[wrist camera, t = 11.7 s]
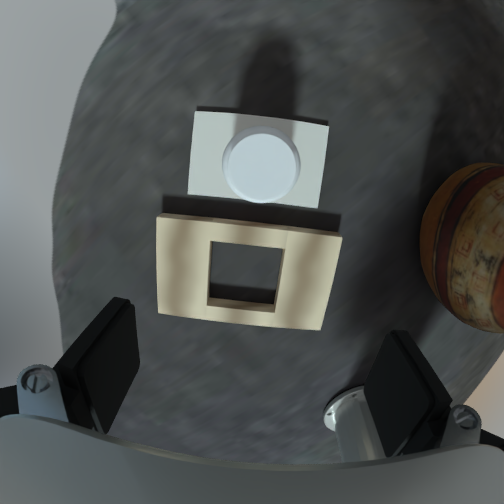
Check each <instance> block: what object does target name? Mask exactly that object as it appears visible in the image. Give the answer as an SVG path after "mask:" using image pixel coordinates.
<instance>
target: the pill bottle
mask: <svg viewBox="0 0 504 504" xmlns="http://www.w3.org/2000/svg"><path fill="white" fill-rule="evenodd" d="M300 169H301V161H300V156H299V152H298V150H297V147H296V146H295V144H294V142H293V141H292V140H291V139H290V138H289V137H288V136H287V135H286V134H285V133H283V132H282V131H280V130H278V129H276V128H273V127H269V126H254V127H250V128H247V129H244V130H242V131H241V132H239V133H238V134H236V135H235V136H234V137H233V138H232V139H231V140H230V141H229V143H228V144H227V146H226V148H225V150H224V153H223V157H222V171H223V175H224V178H225V180H226V182H227V184H228V186H229V187H230V188H231V190H232V191H233V192H234V193H235V194H237V195H238V196H239V197H241V198H243V199H245V200H247V201H251V202H255V203H268V202H272V201H276V200H278V199H280V198H282V197H284V196H285V195H286V194H288V193H289V192H290V191H291V190H292V189H293V187H294V186H295V184H296V182H297V180H298V178H299V175H300Z"/></svg>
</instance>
